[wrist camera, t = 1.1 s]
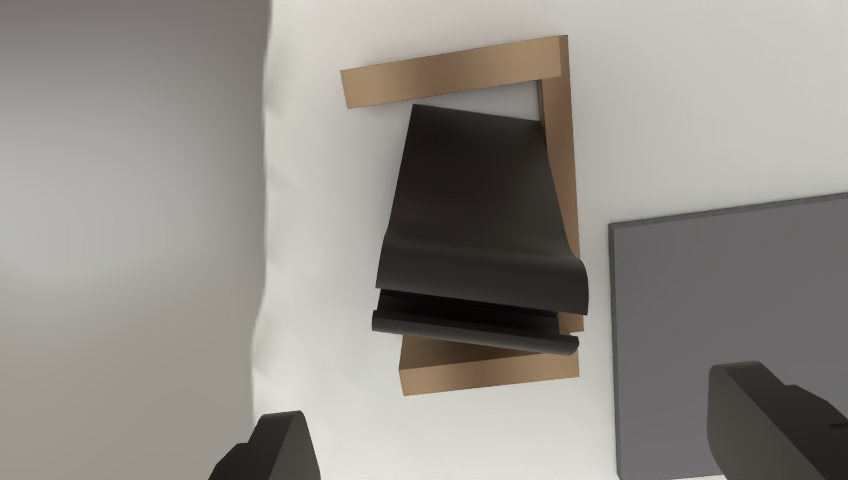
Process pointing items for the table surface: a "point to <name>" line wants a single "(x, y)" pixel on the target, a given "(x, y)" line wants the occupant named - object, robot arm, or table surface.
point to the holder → (549, 64)
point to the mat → (721, 319)
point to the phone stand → (478, 237)
